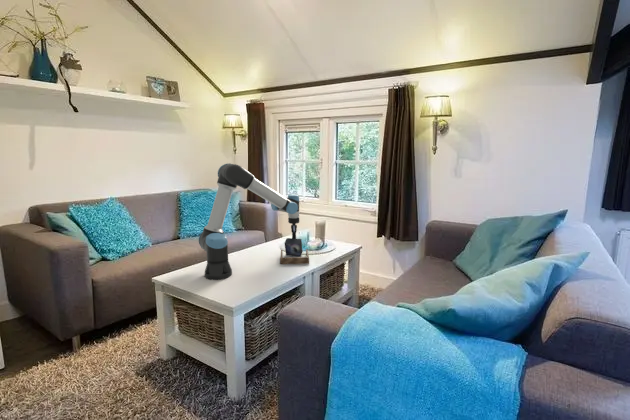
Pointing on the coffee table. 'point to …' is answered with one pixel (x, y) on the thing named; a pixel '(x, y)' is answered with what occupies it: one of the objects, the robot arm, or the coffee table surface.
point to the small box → (293, 247)
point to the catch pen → (294, 259)
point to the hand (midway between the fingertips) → (294, 250)
